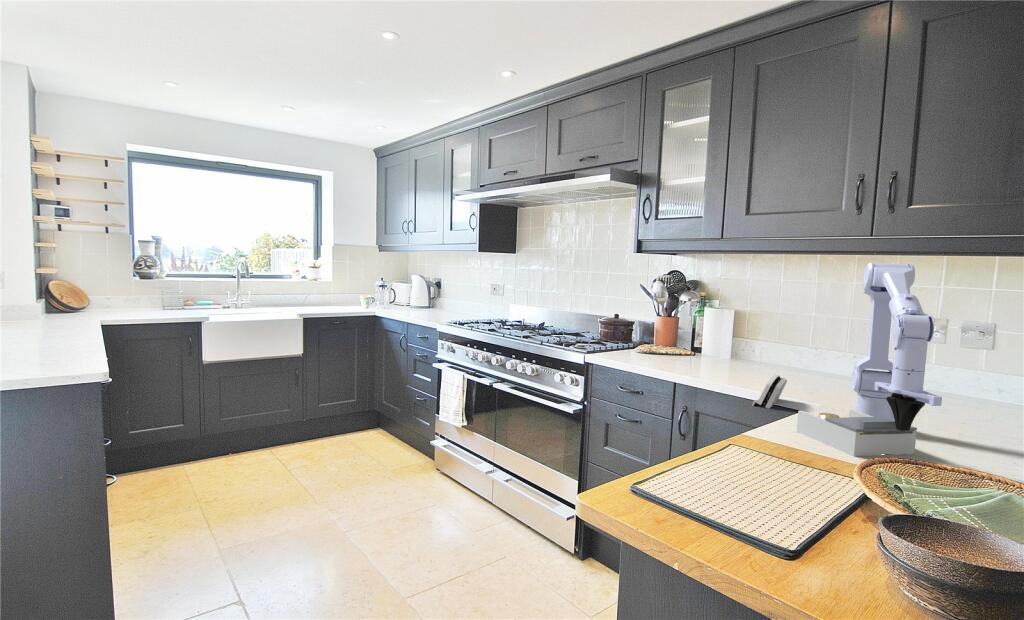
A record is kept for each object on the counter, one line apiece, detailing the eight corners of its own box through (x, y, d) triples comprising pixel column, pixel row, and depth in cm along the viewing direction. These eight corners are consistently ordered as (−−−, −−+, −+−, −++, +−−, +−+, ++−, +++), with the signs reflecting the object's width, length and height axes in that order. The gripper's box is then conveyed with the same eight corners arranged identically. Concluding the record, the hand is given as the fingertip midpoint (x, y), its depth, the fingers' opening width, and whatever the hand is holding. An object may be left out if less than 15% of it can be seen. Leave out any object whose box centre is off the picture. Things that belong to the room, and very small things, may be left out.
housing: (850, 430, 140) (852, 409, 139) (914, 454, 122) (916, 430, 122) (796, 432, 137) (798, 410, 136) (853, 456, 119) (855, 432, 119)
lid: (882, 419, 131) (883, 410, 130) (916, 430, 122) (917, 421, 122) (825, 420, 128) (826, 411, 127) (855, 431, 119) (856, 422, 119)
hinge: (761, 396, 177) (775, 369, 174) (776, 403, 174) (790, 376, 172) (751, 405, 163) (765, 376, 161) (766, 413, 161) (781, 384, 158)
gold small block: (830, 431, 137) (832, 412, 137) (842, 437, 133) (843, 417, 132) (814, 431, 137) (815, 412, 136) (824, 437, 132) (826, 417, 132)
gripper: (865, 363, 124) (860, 420, 125) (924, 376, 110) (917, 440, 111) (891, 363, 125) (885, 420, 126) (952, 375, 111) (946, 440, 112)
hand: (902, 429), depth 119 cm, fingers closed
